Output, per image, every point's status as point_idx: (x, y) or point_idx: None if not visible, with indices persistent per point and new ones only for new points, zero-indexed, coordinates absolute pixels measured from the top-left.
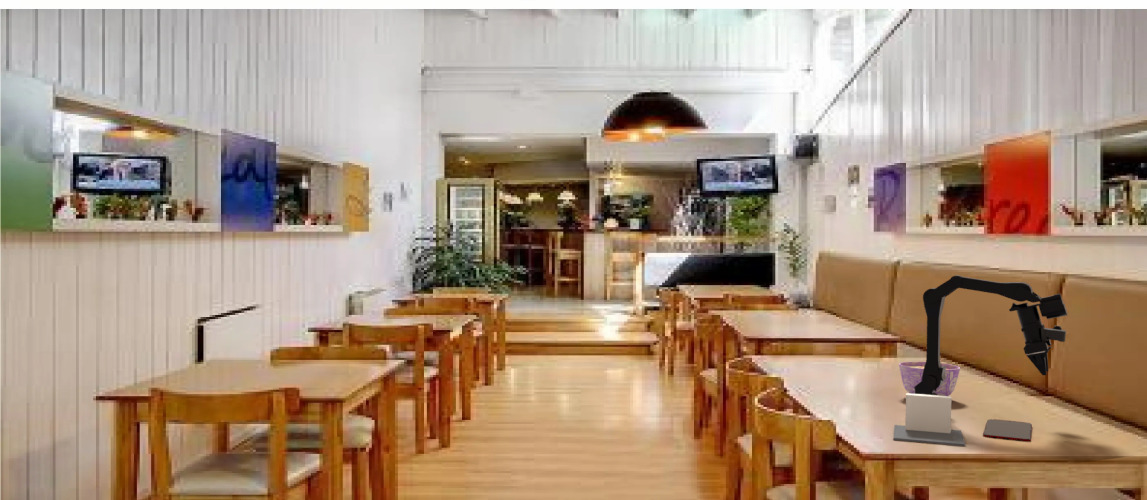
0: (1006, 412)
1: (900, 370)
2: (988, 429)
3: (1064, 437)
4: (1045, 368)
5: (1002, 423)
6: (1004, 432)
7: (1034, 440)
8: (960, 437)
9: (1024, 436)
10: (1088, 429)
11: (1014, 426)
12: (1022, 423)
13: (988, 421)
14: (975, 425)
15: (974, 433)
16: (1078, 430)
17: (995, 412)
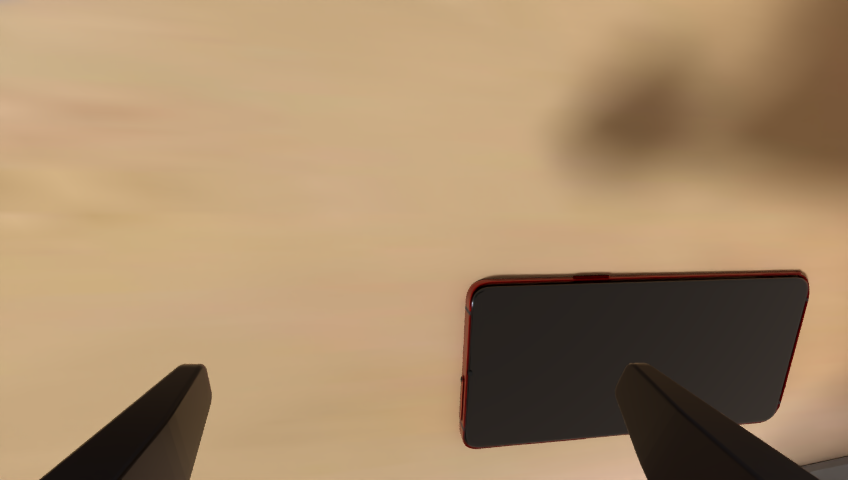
0: None
1: None
2: None
3: (673, 145)
4: (744, 429)
5: (542, 391)
6: (719, 366)
7: (774, 258)
8: (841, 471)
9: (768, 296)
10: (407, 11)
11: (587, 344)
12: (503, 320)
13: (523, 442)
14: (565, 467)
15: None
16: (466, 69)
17: None
